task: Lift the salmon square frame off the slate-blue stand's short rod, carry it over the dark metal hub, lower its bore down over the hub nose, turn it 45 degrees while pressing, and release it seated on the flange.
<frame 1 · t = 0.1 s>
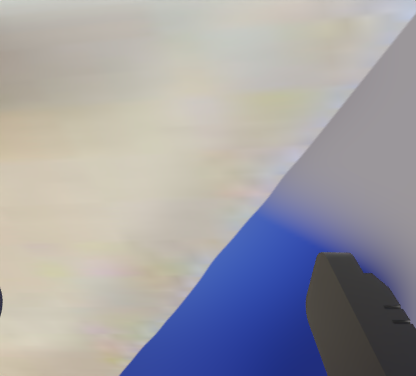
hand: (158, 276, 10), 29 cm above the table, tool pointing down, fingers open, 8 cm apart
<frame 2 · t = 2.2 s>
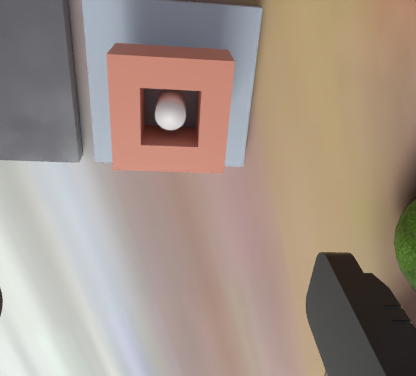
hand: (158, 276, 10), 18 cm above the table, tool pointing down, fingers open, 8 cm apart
salmon square frame: (171, 101, 23), point 3 cm above the table, touching stand
stand: (172, 86, 25), on the table
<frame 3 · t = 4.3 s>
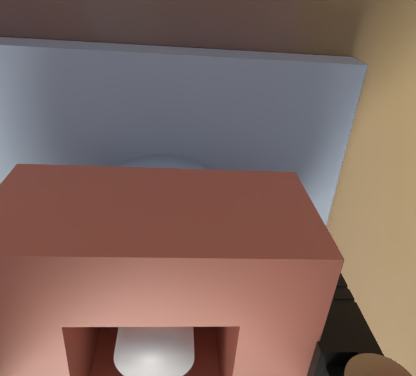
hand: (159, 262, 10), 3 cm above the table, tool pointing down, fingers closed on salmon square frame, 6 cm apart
salmon square frame: (159, 273, 10), point 3 cm above the table, touching gripper, stand
stand: (163, 209, 13), on the table
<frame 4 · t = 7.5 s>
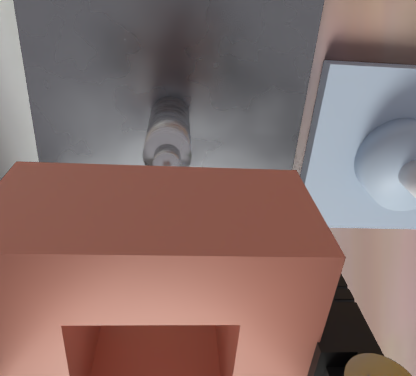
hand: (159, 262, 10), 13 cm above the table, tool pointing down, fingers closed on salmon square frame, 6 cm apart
salmon square frame: (159, 272, 10), point 13 cm above the table, touching gripper
stand: (387, 150, 24), on the table
hub: (170, 108, 22), on the table
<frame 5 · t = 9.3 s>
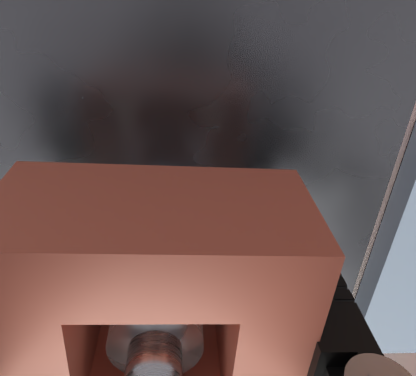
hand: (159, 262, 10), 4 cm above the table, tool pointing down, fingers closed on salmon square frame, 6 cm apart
salmon square frame: (159, 271, 10), point 4 cm above the table, touching gripper
hub: (165, 194, 13), on the table
when the fingers open (1 cm above the table, at t = 10.7 s): salmon square frame stays where it is, resting on hub.
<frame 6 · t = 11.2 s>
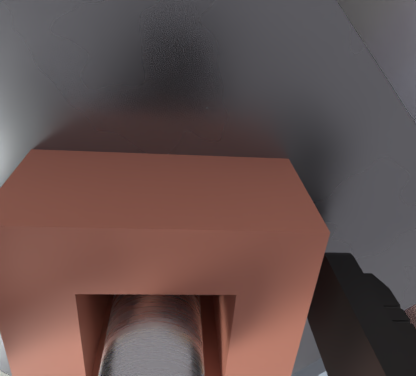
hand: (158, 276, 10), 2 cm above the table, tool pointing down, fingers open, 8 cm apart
salmon square frame: (162, 254, 11), point 1 cm above the table, touching hub
hub: (161, 227, 12), on the table
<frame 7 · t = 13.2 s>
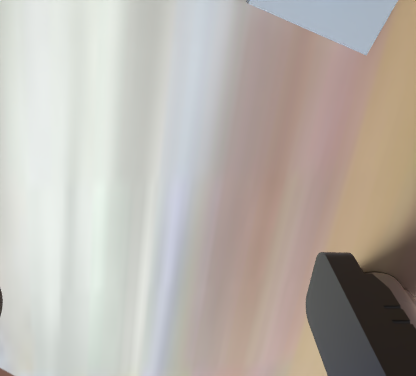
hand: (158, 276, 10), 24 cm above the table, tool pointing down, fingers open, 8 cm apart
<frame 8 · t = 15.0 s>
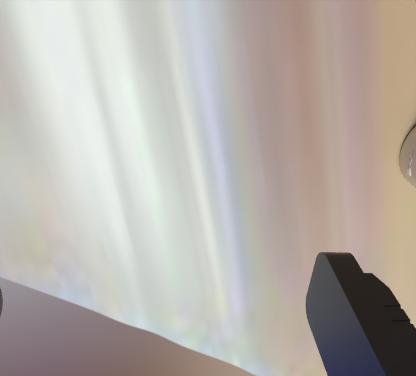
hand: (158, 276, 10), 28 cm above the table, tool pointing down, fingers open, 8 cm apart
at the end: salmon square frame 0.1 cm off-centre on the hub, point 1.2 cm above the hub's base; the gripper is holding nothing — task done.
